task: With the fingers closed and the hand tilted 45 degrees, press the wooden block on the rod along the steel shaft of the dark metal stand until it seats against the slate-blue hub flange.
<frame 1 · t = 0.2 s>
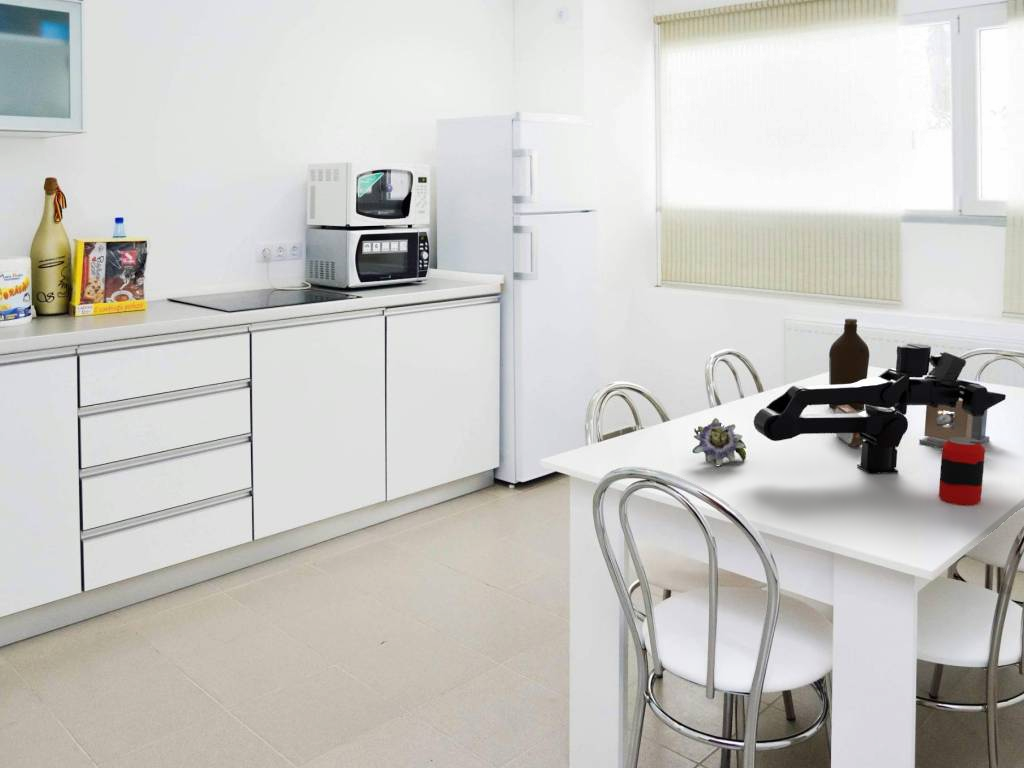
hand: (992, 391, 207), 16 cm above the table, tool horizontal, fingers open, 9 cm apart
passion flower: (717, 462, 217), on the table
soda can: (959, 500, 187), on the table
wooden block on rod: (948, 418, 226), point 6 cm above the table, slide at 0.0 cm
tin: (847, 442, 232), on the table
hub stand: (953, 442, 229), on the table
olive oil: (846, 407, 269), on the table
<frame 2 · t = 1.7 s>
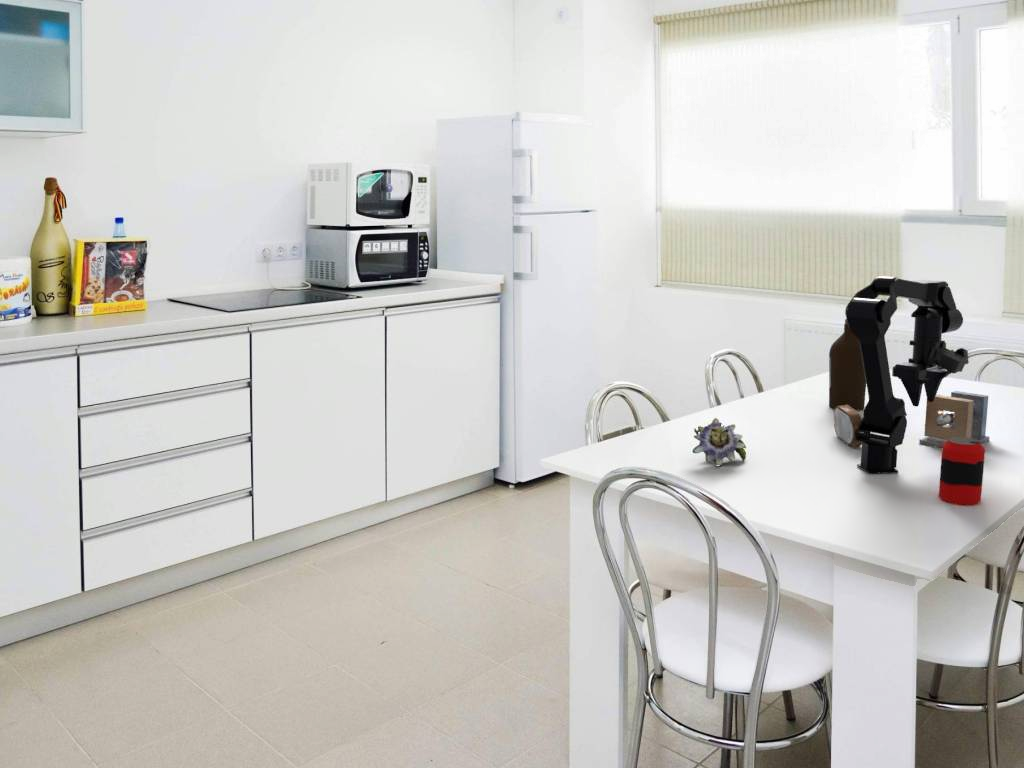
hand: (923, 403, 217), 12 cm above the table, tool pointing down, fingers open, 6 cm apart
nothing on the table moved.
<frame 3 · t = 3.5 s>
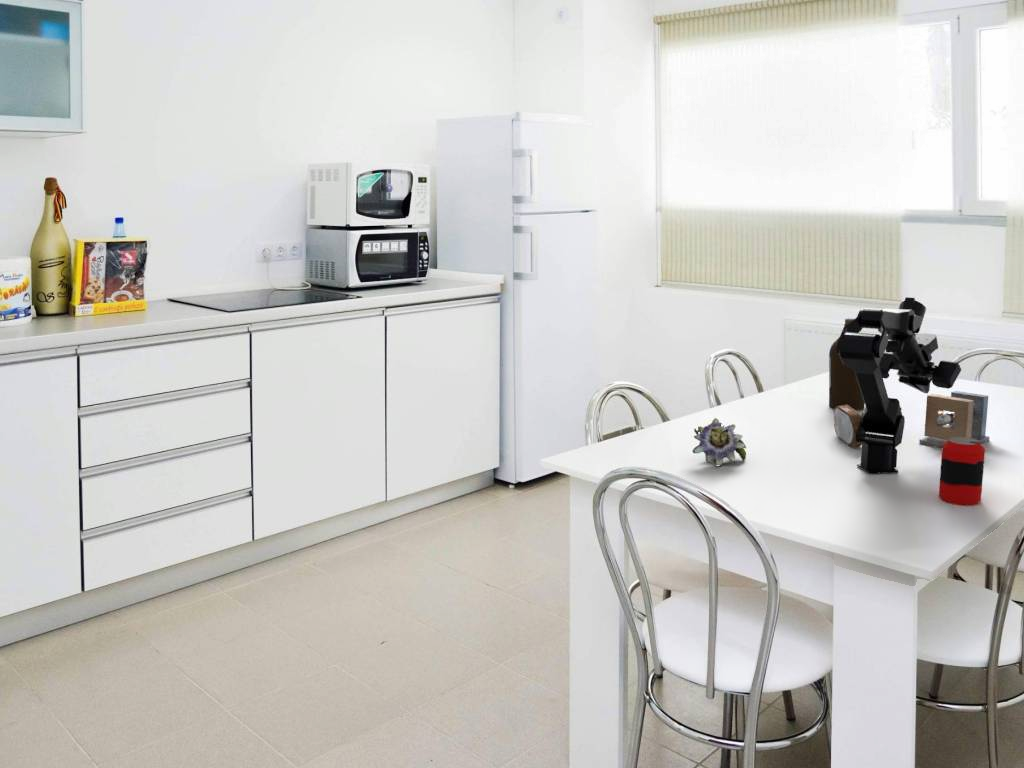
hand: (927, 391, 224), 13 cm above the table, tool tilted 45°, fingers closed
nothing on the table moved.
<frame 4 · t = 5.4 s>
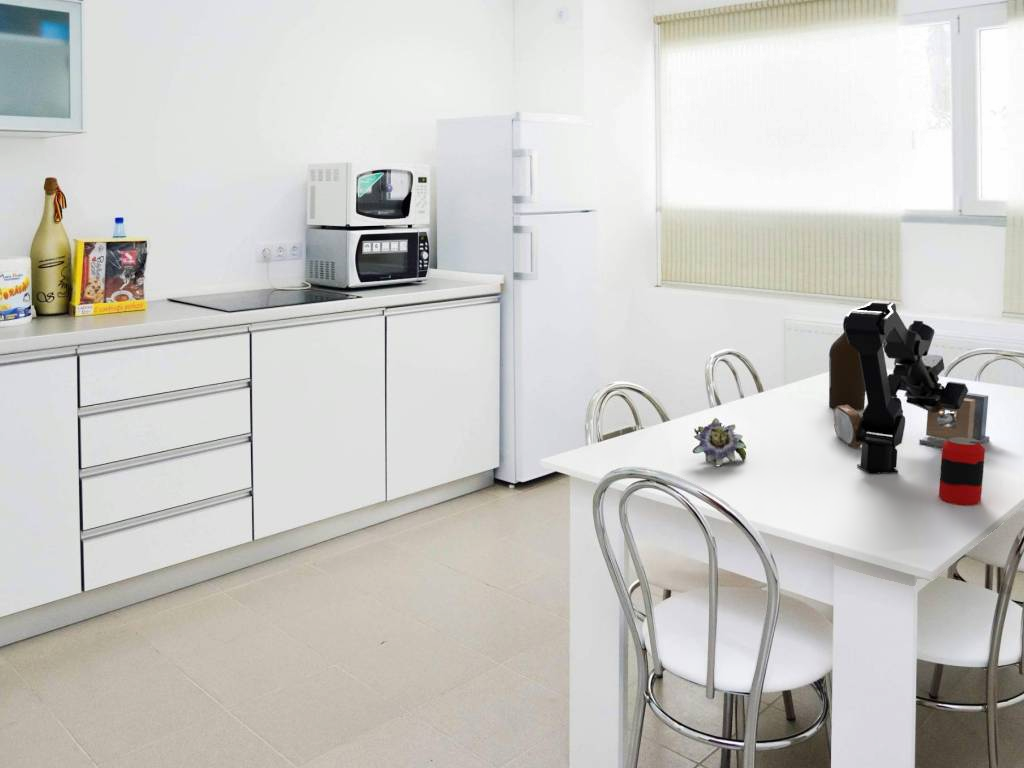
hand: (934, 411, 228), 8 cm above the table, tool tilted 45°, fingers closed, pressing on wooden block on rod
wooden block on rod: (950, 417, 227), point 6 cm above the table, slide at 0.8 cm, touching gripper
everything else where it was.
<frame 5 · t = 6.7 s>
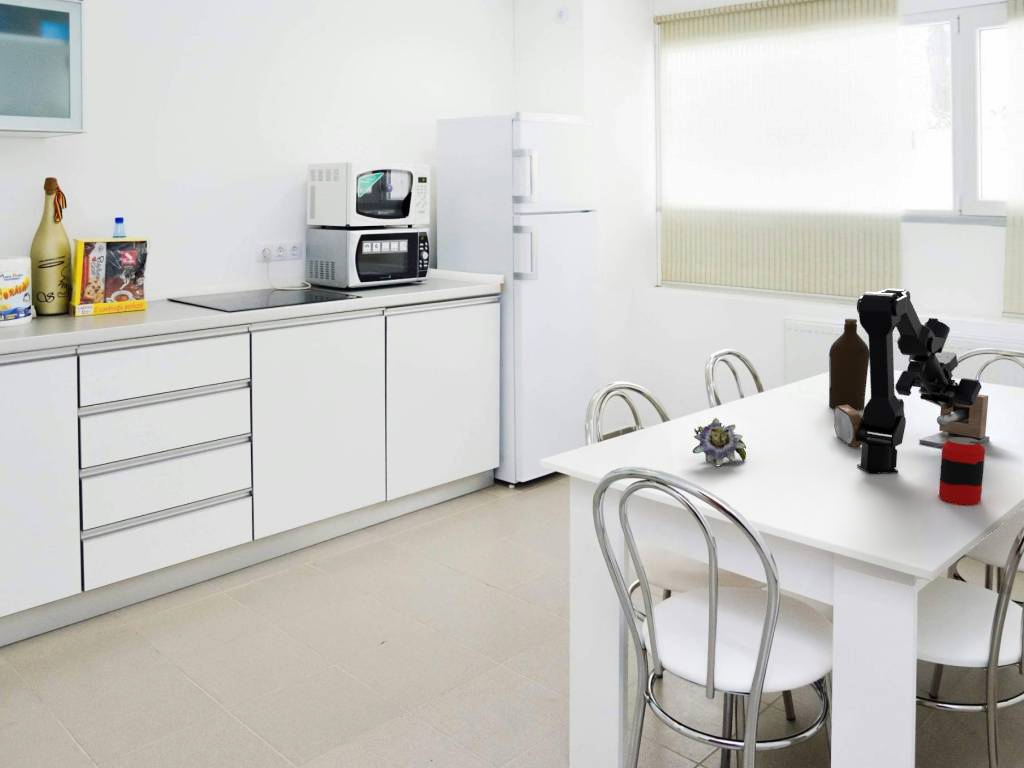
hand: (947, 407, 232), 8 cm above the table, tool tilted 45°, fingers closed, pressing on wooden block on rod
wooden block on rod: (963, 413, 230), point 6 cm above the table, slide at 7.2 cm, touching gripper
everything else where it was.
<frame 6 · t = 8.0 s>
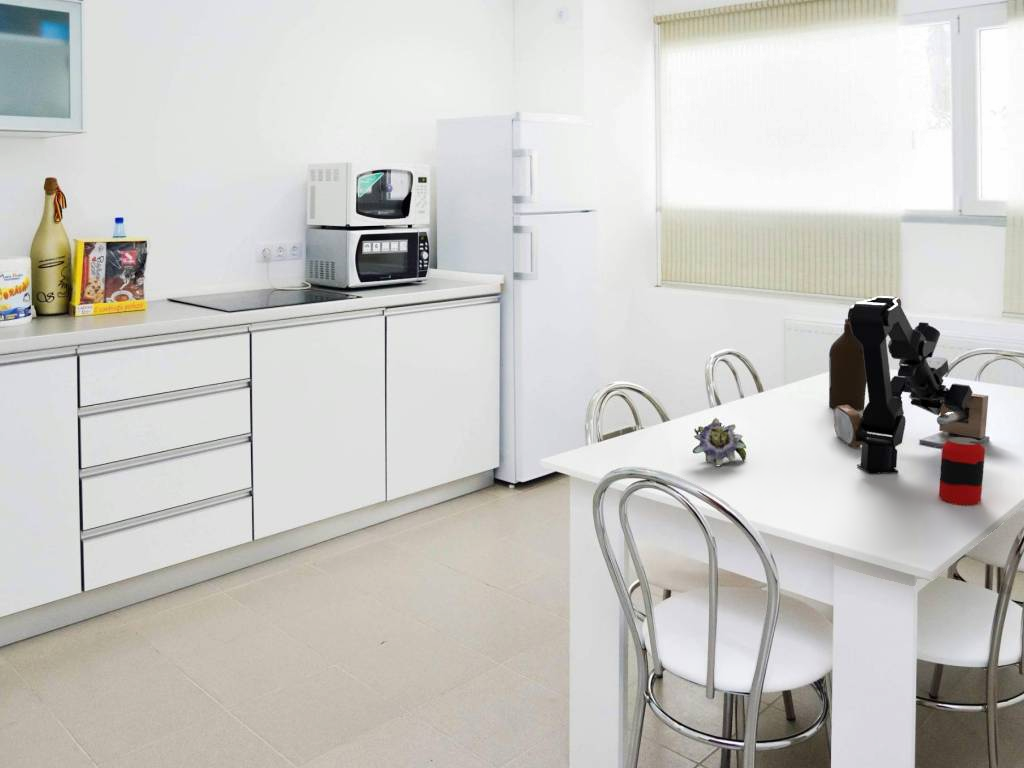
hand: (938, 413, 229), 7 cm above the table, tool tilted 45°, fingers closed
wooden block on rod: (963, 413, 230), point 6 cm above the table, slide at 7.2 cm
everything else where it was.
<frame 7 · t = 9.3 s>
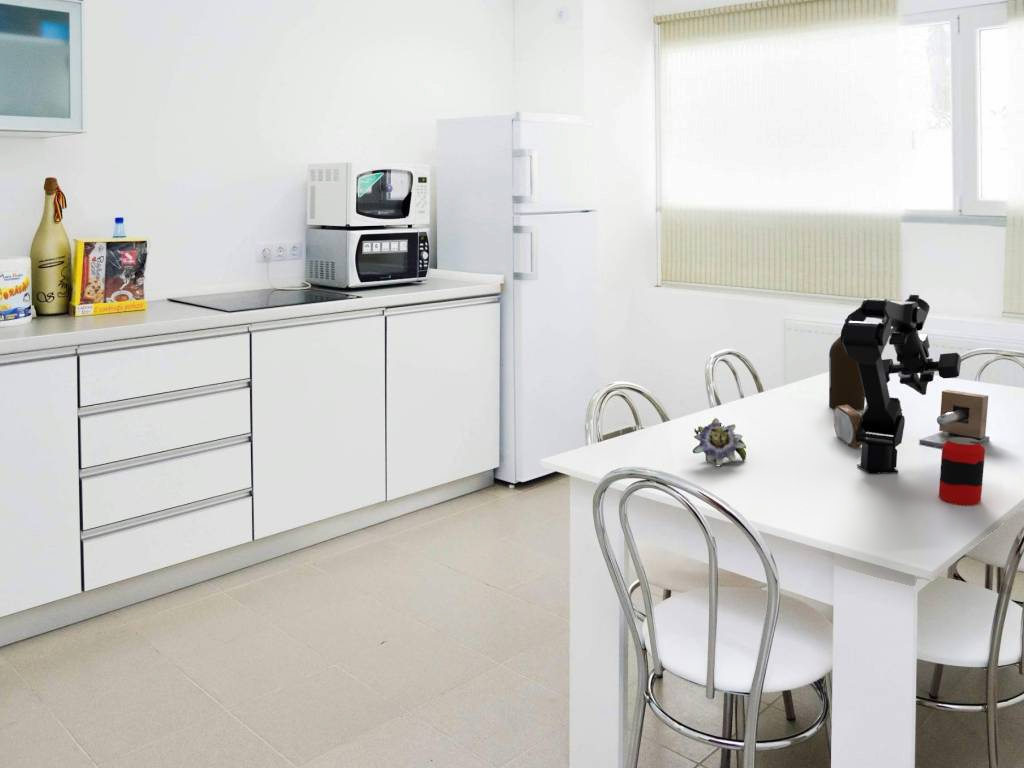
hand: (924, 393, 224), 13 cm above the table, tool tilted 35°, fingers closed
nothing on the table moved.
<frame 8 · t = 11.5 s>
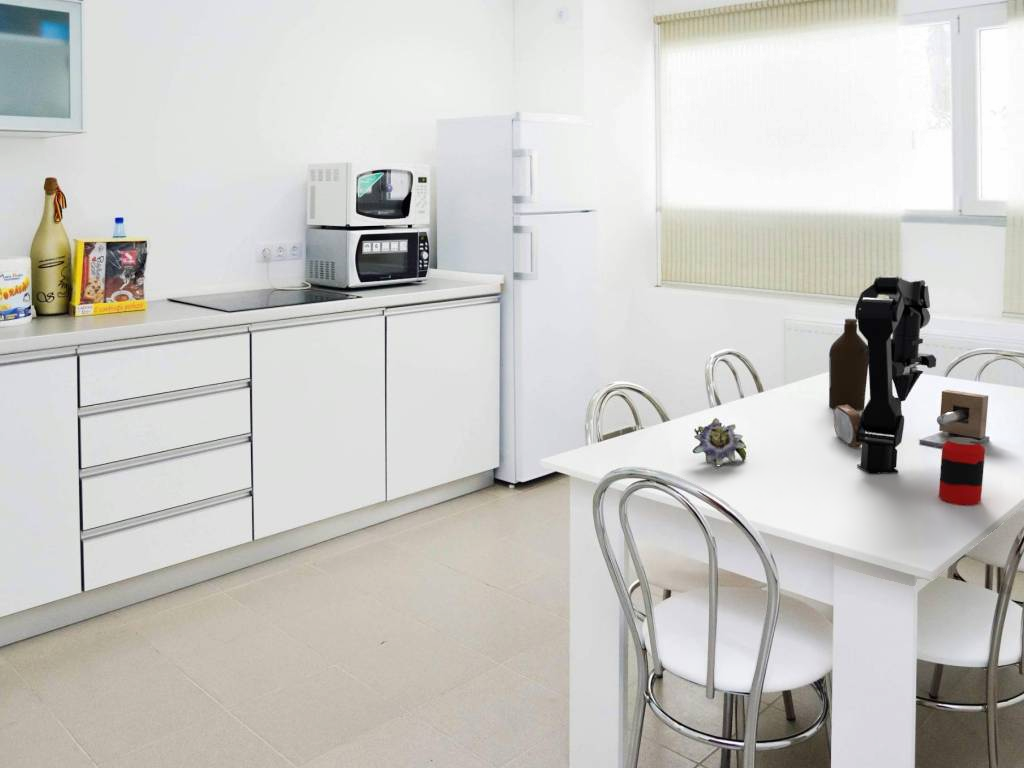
hand: (901, 400, 220), 12 cm above the table, tool pointing down, fingers closed
nothing on the table moved.
at the end: wooden block on rod slide at 7.2 cm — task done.
